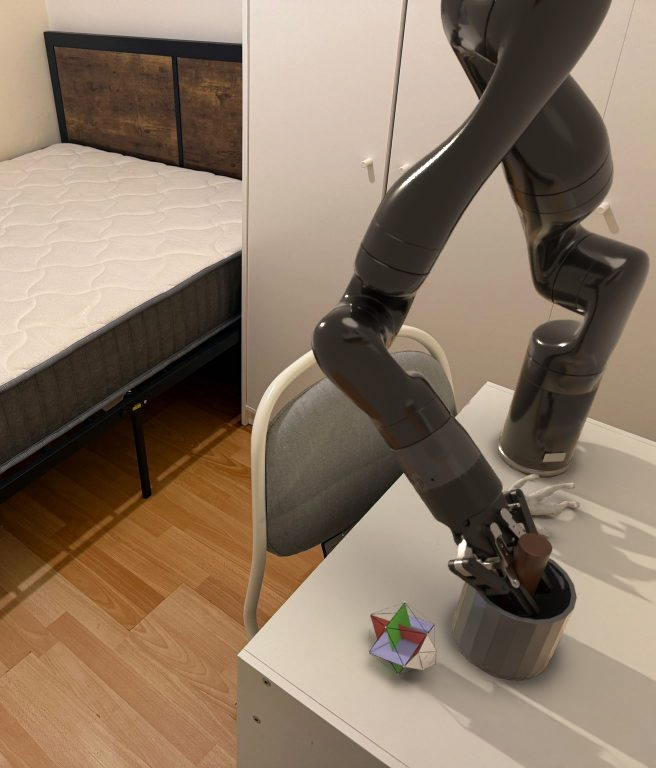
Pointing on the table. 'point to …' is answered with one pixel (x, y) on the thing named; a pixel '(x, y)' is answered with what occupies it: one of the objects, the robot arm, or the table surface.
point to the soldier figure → (539, 496)
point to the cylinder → (528, 564)
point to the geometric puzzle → (404, 640)
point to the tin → (513, 628)
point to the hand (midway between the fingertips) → (537, 602)
